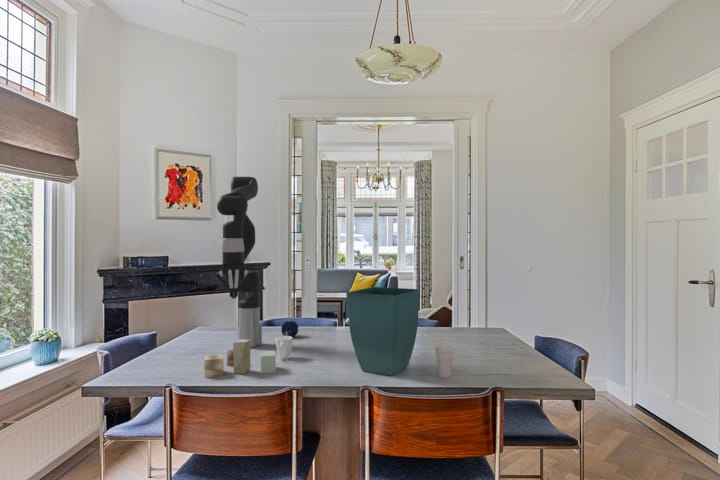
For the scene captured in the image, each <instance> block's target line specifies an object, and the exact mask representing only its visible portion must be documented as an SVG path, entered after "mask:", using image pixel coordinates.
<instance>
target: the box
mask: <svg viewBox="0 0 720 480" xmlns="http://www.w3.org/2000/svg"><path fill="white" fill-rule="evenodd" d="M232 343H233V349H232V350H233V366H232V367H233V368H232V369H233V374H239V375H241V374H242V375H244V374H247V373H248V372H249V371H251V348H250V340H244V339H240V340H239V339H238V340H235V341H234V342H232Z"/></svg>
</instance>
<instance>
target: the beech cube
mask: <svg viewBox="0 0 720 480" xmlns="http://www.w3.org/2000/svg"><path fill="white" fill-rule="evenodd" d="M223 376H224V354H211V355H205V356H204V378H213V377H215V378H216V377H223Z"/></svg>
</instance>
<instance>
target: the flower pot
mask: <svg viewBox="0 0 720 480" xmlns="http://www.w3.org/2000/svg"><path fill="white" fill-rule="evenodd" d="M420 292H421V290H420V289H418V288H405V287H404V288H401V287H385V286H384V287H383V286H373V287H372V286H371V287H367V288H362V289H357V290H352V291H347V292H345V294H346V295H345V296H346V304H347V313H348V314H347V315H348V325H349V333H350V339H351V342H352V343H351V344H352V346H353V350H354V353H355V356H356V359H357V362H358V364H359V367H360V369H361V371H362V372H368V373H374V374H378V375H386V376H394V375H395V374H398V373H400V372H401V371H402V370H404V369H406V368H407V367H408V366H409V363H410V360H411V357H412V354H413V350H414V346H415V343H416V339H417V333H418V332H417V331H418V327H419V325H418V324H419V308H420V294H421V293H420Z"/></svg>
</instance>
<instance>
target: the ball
mask: <svg viewBox="0 0 720 480" xmlns="http://www.w3.org/2000/svg"><path fill="white" fill-rule="evenodd" d="M298 333H299V325H298V323H297V322H296V321H295V320H286V321H285V322H283V324H282V325H281V334H282V336H291V337H292V338H294V337H296V336H297V335H298Z"/></svg>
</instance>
